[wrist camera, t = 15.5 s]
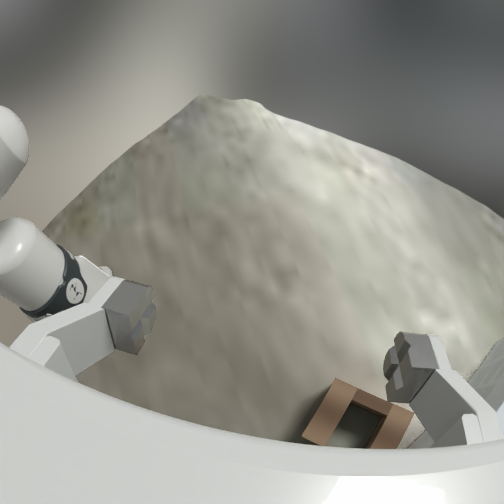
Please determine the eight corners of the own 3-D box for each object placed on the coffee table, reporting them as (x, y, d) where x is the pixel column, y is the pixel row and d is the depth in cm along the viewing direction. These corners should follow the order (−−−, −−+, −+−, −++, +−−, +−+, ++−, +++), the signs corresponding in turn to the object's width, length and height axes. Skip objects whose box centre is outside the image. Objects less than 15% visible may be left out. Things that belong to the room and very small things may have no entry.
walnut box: (376, 469, 30) (382, 473, 27) (303, 435, 35) (301, 436, 31) (406, 414, 33) (414, 413, 29) (334, 382, 37) (335, 377, 34)
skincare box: (425, 476, 27) (478, 495, 14) (402, 451, 30) (447, 461, 17) (518, 363, 31) (582, 324, 18) (497, 340, 34) (557, 293, 21)
